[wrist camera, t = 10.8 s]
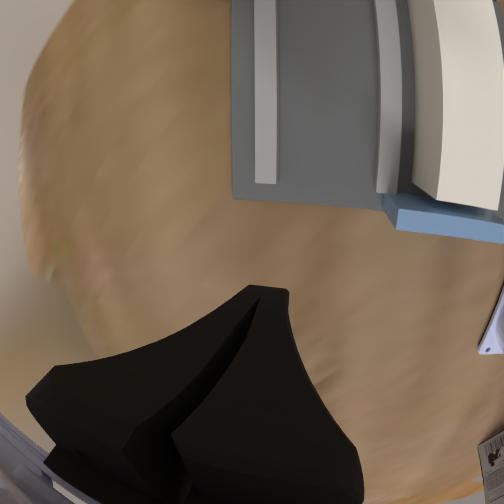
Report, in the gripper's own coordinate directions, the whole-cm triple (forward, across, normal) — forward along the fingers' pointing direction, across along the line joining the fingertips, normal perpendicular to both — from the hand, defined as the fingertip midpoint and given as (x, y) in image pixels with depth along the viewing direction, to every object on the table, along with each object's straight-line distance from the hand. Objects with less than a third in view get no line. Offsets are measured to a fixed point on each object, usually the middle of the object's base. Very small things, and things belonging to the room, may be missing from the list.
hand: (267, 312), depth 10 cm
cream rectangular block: (+9, -8, -9) cm, 15 cm away
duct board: (+9, -5, -10) cm, 14 cm away
